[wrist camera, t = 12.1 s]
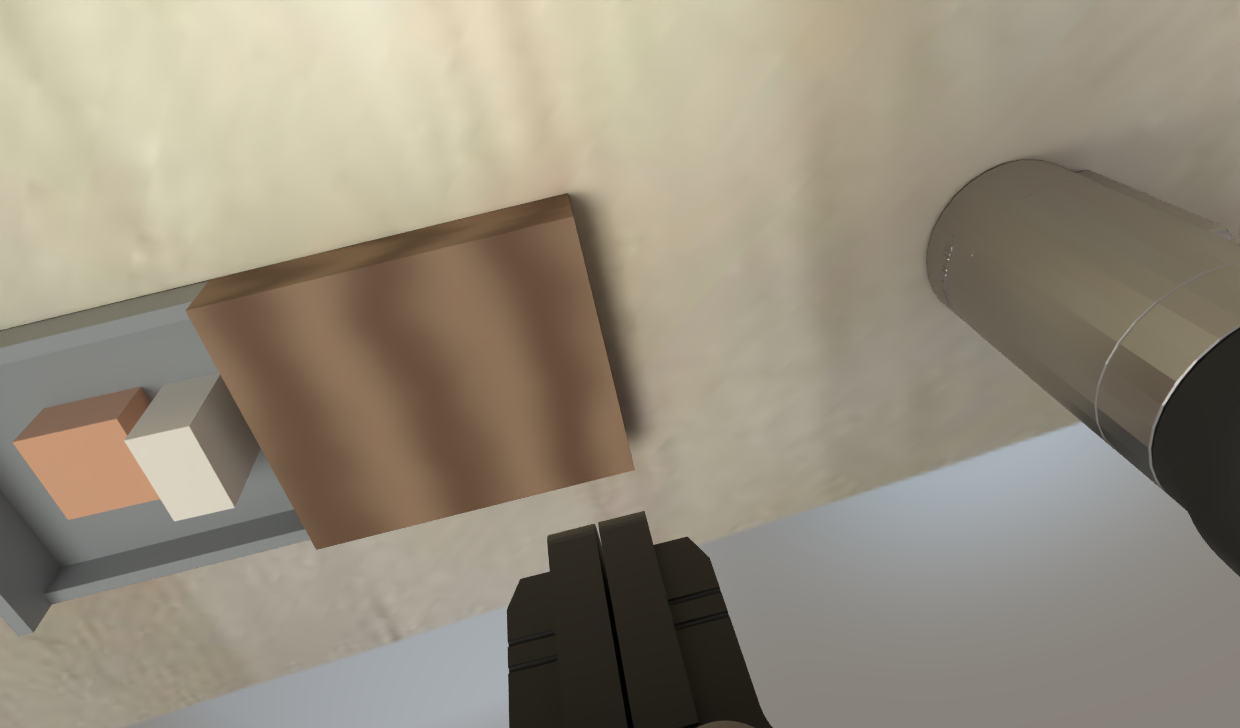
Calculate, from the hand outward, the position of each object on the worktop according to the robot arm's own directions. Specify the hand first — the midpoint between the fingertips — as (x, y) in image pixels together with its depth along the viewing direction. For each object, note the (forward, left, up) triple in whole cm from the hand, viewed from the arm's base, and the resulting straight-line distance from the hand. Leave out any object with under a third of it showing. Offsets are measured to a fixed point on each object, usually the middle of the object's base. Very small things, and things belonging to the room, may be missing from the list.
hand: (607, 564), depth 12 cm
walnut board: (+8, +11, -29) cm, 32 cm away
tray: (+25, +11, -29) cm, 40 cm away
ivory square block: (+18, +11, -26) cm, 34 cm away
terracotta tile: (+25, +10, -26) cm, 37 cm away
